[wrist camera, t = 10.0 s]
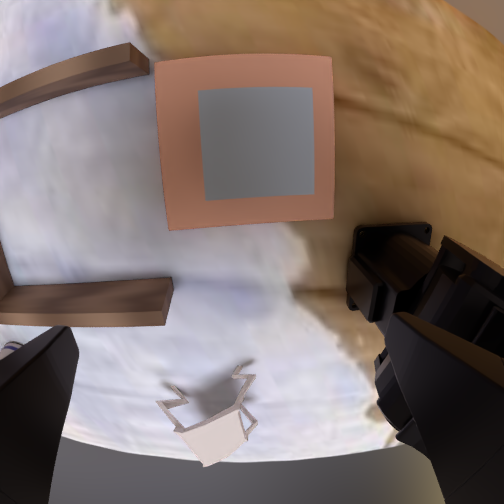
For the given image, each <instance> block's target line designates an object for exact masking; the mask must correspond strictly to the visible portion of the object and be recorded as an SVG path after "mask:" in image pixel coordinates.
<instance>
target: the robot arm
mask: <svg viewBox="0 0 504 504" xmlns="http://www.w3.org/2000/svg"><path fill="white" fill-rule="evenodd" d="M426 227H427V229H426V231H424V230H425V228H426ZM361 231H364V234H363V235H362V236H360V232H361ZM431 233H432V226H431V225H430V224H428V223H427V222H416V223H396V224H377V225H361V226H358V227H357V228H356V229H355V231H354V239H353V251H352V256H351V257H350V259H349V265H348V275H347V285H346V291H347V292H348V297H347V306H348V308H349V309H350V310H352V311H355V310H360V311H361V312H362V314H363V315H364V317H365V318H366V320H367V321H368V322H370V323H373V322H375V324H376V325H377V327H378V328H379V329H380V331H381V332H382V334H383V335H384V337H385V345H386V347H385V348H384V350H383V352H382V353H381V354H379V355H378V356H377V358H376V359H375V361H374V364H375V371H376V374H375V385H376V388H377V392H378V395H379V398H378V400H377V405H378V408H379V409H380V411H381V412H382V414H383V415H384V417H385V418H386V420H387V421H388V422H389V424H391V425H392V426H393V427H394V428H395V429H396V430H398V431H399V432H398V433H397V434H396V439H397V440H398V441H400V442H403V443H405V444H407V445H410V446H412V447H413V448H415V449H416V450H418V451H420V452H421V453H423V454H424V455H425V456H426V457H427V458H428V459H429V460H430V461H431V463H432V466H433V469H434V471H435V474H436V477H437V480H438V482H439V485H440V488H441V491H442V494H443V497H444V499H445V500H444V501H445V504H504V269H503V268H501V267H500V266H498V265H497V264H495V263H494V262H492V261H491V260H489V259H488V258H486V257H485V256H483V255H481V254H479V253H477V252H476V251H474V250H472V249H470V248H468V247H466V246H465V245H463V244H461V243H459V242H457V241H455V240H453V239H451V238H449V237H447V236H445V235H444V237H443V240H442V242H441V245H442V246H441V248H440V250H439V252H438V251H436V250H435V249H434V248H432V247H431V246H429V245H430V239H431ZM354 302H355V304H354V305H352V304H353V303H354ZM78 359H79V349H78V346H77V343H76V341H75V338H74V336H73V333H72V330H71V328H70V327H69V326H65V325H56V326H54V327H52V328H51V329H49V330H47V331H46V332H44V333H42V334H41V335H39V336H38V337H36V338H34V339H33V340H31V341H29V342H28V343H26V344H25V345H23V346H21V347H20V348H18V349H17V350H15V351H14V352H12V353H10V354H9V355H7V356H6V357H4V358H3V359H1V360H0V504H48V501H49V494H50V488H51V482H52V477H53V471H54V466H55V461H56V456H57V452H58V447H59V442H60V438H61V434H62V430H63V426H64V422H65V418H66V415H67V411H68V407H69V403H70V399H71V394H72V389H73V384H74V378H75V373H76V368H77V364H78Z"/></svg>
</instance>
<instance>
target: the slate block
mask: <svg viewBox="0 0 504 504" xmlns="http://www.w3.org/2000/svg"><path fill="white" fill-rule="evenodd" d="M198 102H199V119H200V135H201V150H202V163H203V176H204V188H205V200H206V201H211V200H223V199H237V198H252V197H268V196H287V195H309V194H314V118H313V91H312V88H308V87H243V88H224V89H211V90H199V91H198Z"/></svg>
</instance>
